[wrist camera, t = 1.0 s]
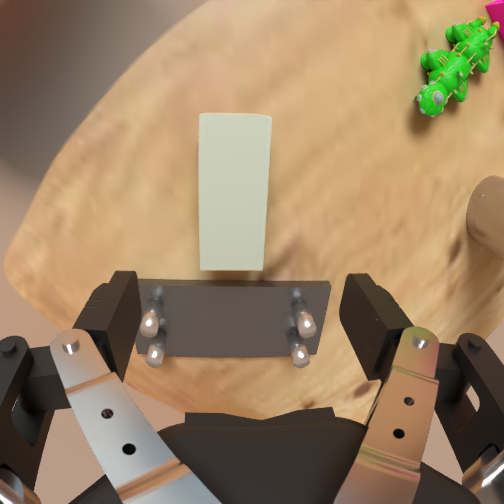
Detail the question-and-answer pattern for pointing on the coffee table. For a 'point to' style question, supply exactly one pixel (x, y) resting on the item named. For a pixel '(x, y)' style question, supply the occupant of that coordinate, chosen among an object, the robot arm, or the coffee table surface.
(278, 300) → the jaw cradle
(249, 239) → the block
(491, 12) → the toy block
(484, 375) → the robot arm
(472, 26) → the crocodile figurine
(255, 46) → the coffee table surface
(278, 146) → the coffee table surface
